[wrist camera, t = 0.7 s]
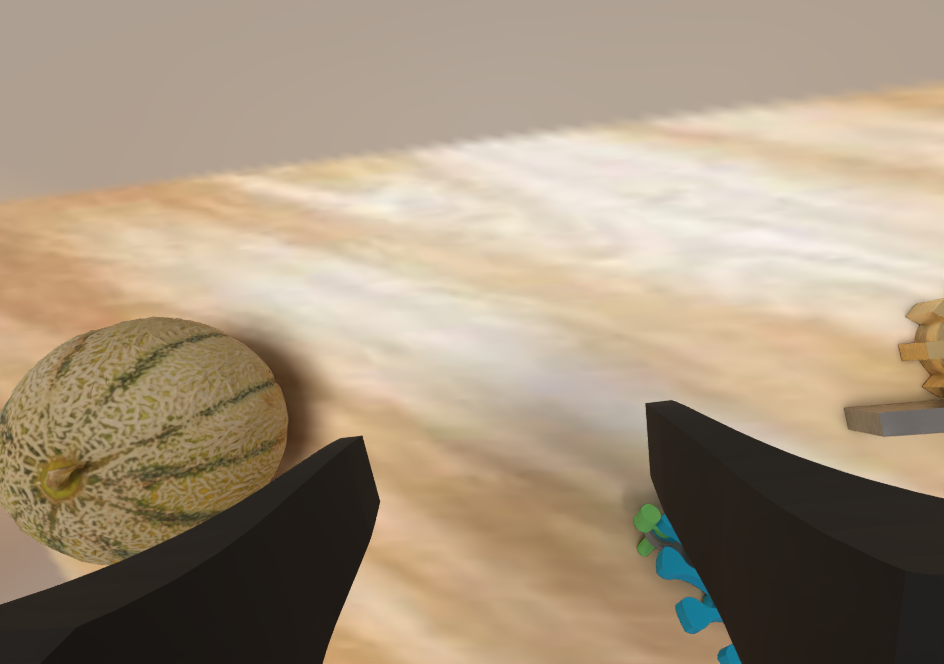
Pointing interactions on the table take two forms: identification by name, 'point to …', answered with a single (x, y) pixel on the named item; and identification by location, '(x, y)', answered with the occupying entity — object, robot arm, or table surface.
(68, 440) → the cantaloupe
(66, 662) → the robot arm
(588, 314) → the table surface
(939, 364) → the bracket
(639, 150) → the table surface
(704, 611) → the gear
